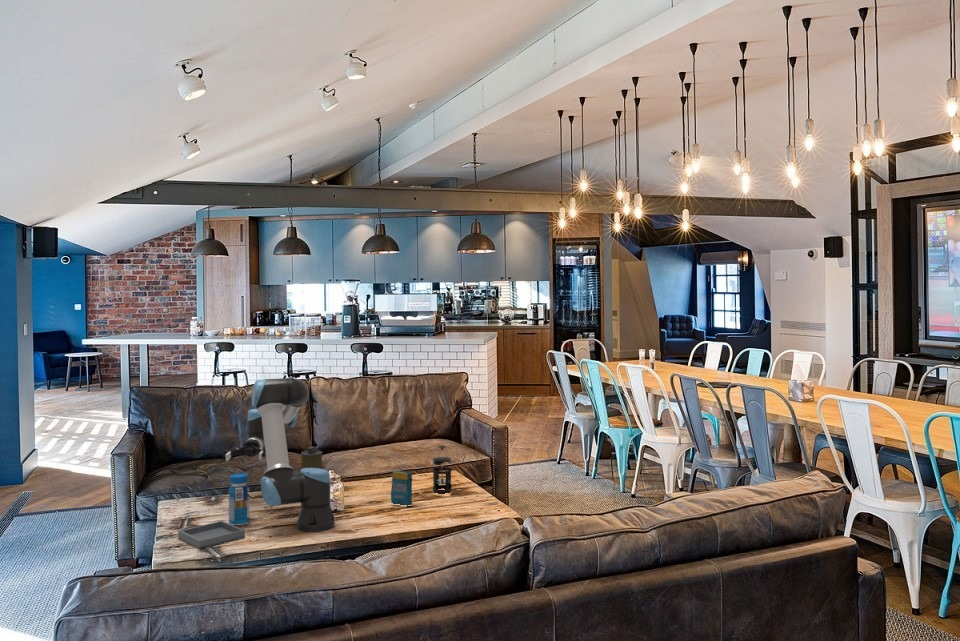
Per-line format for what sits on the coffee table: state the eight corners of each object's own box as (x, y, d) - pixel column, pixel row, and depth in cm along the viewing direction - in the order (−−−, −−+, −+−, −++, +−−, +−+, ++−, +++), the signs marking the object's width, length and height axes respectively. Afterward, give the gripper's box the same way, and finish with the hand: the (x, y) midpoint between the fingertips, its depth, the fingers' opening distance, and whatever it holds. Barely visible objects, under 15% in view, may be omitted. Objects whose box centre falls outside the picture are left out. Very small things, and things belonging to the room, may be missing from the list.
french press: (456, 495, 341) (456, 446, 340) (440, 498, 335) (439, 449, 335) (443, 490, 350) (442, 442, 350) (426, 493, 345) (426, 445, 344)
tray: (244, 537, 280) (244, 529, 280) (199, 549, 267) (199, 541, 266) (222, 527, 292) (222, 520, 292) (178, 538, 279) (178, 530, 279)
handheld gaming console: (413, 505, 323) (412, 472, 323) (408, 508, 319) (408, 474, 319) (394, 503, 327) (394, 470, 327) (389, 505, 323) (389, 472, 323)
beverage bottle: (224, 524, 296) (223, 476, 296) (237, 519, 304) (237, 471, 304) (240, 527, 293) (240, 478, 293) (254, 521, 301) (253, 473, 300)
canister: (317, 490, 351) (317, 449, 350) (297, 489, 353) (297, 448, 352) (326, 484, 361) (326, 445, 361) (307, 484, 363) (306, 444, 363)
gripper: (280, 454, 330) (273, 465, 309) (224, 456, 327) (212, 467, 306) (280, 438, 330) (273, 448, 309) (223, 439, 327) (212, 449, 306)
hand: (243, 457), depth 307 cm, fingers open, 13 cm apart
